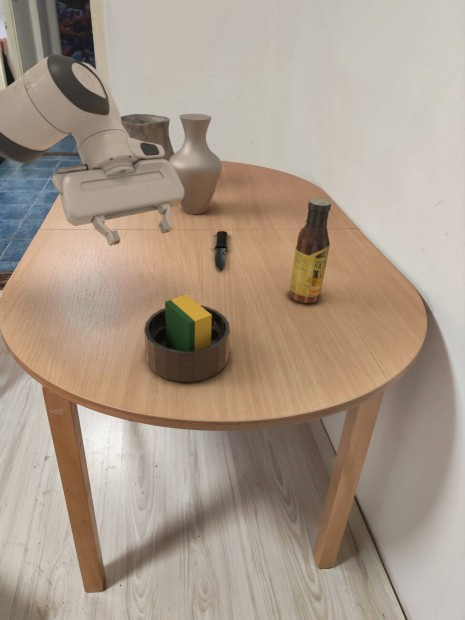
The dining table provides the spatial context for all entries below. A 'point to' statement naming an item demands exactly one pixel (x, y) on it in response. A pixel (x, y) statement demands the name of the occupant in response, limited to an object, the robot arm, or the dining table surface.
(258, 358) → the dining table surface
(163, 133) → the vessel
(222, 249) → the knife
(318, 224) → the sauce bottle
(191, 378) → the bowl
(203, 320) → the sponge
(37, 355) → the dining table surface
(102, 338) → the dining table surface
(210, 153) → the vase
